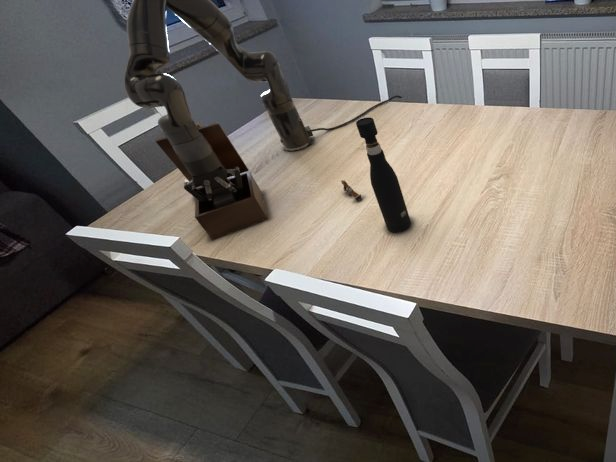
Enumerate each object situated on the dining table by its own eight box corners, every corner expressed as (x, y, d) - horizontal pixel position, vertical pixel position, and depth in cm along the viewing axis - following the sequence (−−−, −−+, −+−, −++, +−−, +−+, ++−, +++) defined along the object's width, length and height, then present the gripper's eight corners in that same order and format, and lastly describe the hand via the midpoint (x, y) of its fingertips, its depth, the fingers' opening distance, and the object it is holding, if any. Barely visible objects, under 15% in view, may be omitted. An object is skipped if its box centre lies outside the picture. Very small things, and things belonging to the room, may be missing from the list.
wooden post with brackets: (345, 186, 123) (344, 177, 119) (362, 203, 121) (361, 194, 117) (340, 189, 122) (338, 180, 118) (357, 206, 120) (356, 197, 116)
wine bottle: (388, 219, 110) (352, 116, 90) (411, 216, 110) (381, 113, 90) (385, 234, 105) (347, 129, 85) (410, 231, 105) (376, 125, 85)
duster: (239, 197, 118) (230, 183, 115) (241, 211, 112) (232, 197, 109) (222, 203, 116) (213, 189, 113) (223, 217, 110) (213, 203, 107)
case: (268, 219, 115) (254, 197, 110) (211, 239, 110) (194, 217, 105) (262, 192, 126) (249, 171, 121) (210, 210, 121) (195, 188, 116)
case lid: (218, 123, 107) (215, 112, 109) (155, 141, 102) (153, 129, 104) (249, 170, 121) (245, 159, 123) (194, 188, 116) (192, 176, 118)
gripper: (163, 169, 98) (203, 222, 109) (227, 150, 103) (258, 203, 114) (165, 157, 103) (203, 209, 114) (225, 139, 108) (256, 191, 119)
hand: (230, 206), depth 114 cm, fingers closed on duster, 4 cm apart
